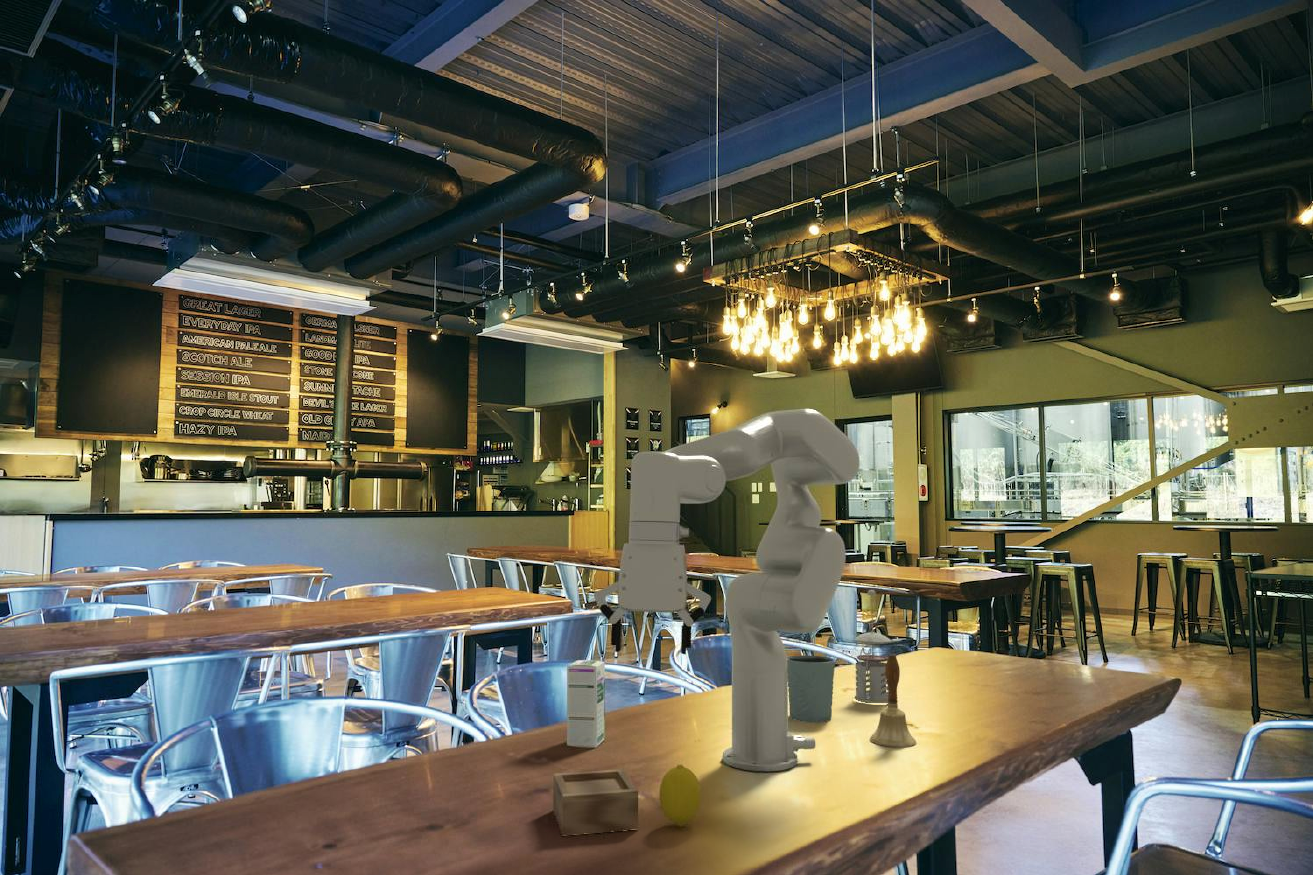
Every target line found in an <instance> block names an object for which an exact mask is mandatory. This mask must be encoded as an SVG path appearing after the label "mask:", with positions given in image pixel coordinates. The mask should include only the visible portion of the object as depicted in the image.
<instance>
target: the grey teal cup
mask: <svg viewBox="0 0 1313 875" xmlns="http://www.w3.org/2000/svg"><path fill="white" fill-rule="evenodd" d="M835 664H836V659H835V658H831V657H827V656H822V655H821V656H820V655H804V654H803V655H790V656H787V666H788V668H787V681H788V706H789V707H788V708H789V717H790V718H791V717H792V718H793V719H792V718H791V719H792V720H794V719H796V720H795V721H798V720H800V721H799V722H803V721H805V722H806V723H824V722H823V721H825V722H828V721H827V720H829V721H831V719H832V714H833V712H832V711H833V709H832V706H833V700H834V698H833V694H834V692H833V690H834V678H835V677H834V676H835V668H836V666H835ZM805 722H804V723H805Z"/></svg>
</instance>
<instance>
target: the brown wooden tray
mask: <svg viewBox="0 0 1313 875" xmlns="http://www.w3.org/2000/svg"><path fill="white" fill-rule="evenodd" d="M552 799H553V800H552V801H553V802H552V804H553V806H552V811H553V810H554V811H553V814H554V813H555V814H554V816H555V815H556V817H555V819H556V818H557V820H556V822H558V823H557V825H558V824H559V826H558V828H559V827H560V828H559V830H560V829H561V831H560V833H561V832H562V834H561V836H562V835H573V834H584V833H587V834H588V833H601V834H603V833H602V832H611V831H623V830H631V829H638V830H639V790H638V788H637V786H635V784H634V782H633V781H632V779H631V778H630V777H629V775H628V774H627V772H626V771H625V770H624V768H618V769H607V770H606V769H604V770H602V769H601V770H592V771H591V770H590V771H588V770H587V771H574V772H573V771H571V772H563V773H562V772H559V773H553V795H552Z"/></svg>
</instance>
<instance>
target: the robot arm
mask: <svg viewBox="0 0 1313 875" xmlns="http://www.w3.org/2000/svg"><path fill="white" fill-rule="evenodd" d="M630 465H631V466H630V468H631V470H630V492H629V494H630V500H629V524H628V525H629V526H628V543H626V542H625V543H624V545H623V548H622V552H621V556H620V557H621V558H620V564H619V565H620V567H619V573H618V575H619V576H618V580H617V581H616V582H614V583H611V584H609V585H607V586H606V587H603V588H601V589H599V590H597V591H595V592H594V593H593V597H594V599H595V602H596V604H597V606H598V608H599V610H600V612H601V613H602V614H603V615H604V616H605V618H606V619H607V620H608V621H609V623H610V624H611V627H610V628H611V629H610V630H611V634H610V645H611V646H615V647H614V652H615V653H619V652H621V650H622V644H623V643H622V642H623V641H622V640H623V623H622V617H623V616H624V615H625V614H626V613H627V612H638V613H639V612H641V613H667V614H668V613H676V614H677V615H678V616H679V618H680V619H681V620H682V622H683V623H682V625H681V642H680V644H681V645H680V654H682V655H687V649H691V648H692V627H693V625H694V624H695V623H696V622H697V621H698V620H699V619H700V618H701V617H702V616H703V615H704V614H705V612H706V610H707V608H708V606H709V604H710V602H711V600H712V597H711V595H710V594H708V593H707V592H705V591H702V590H701V589H699V588H697V587H695V586H693V585H692V584H690V583H688V576H687V575H688V571H687V570H688V569H687V556H686V549H685V545H684V544H680V539H682V538H687V537H688V538H689V536H690V527H685V526H682V525H680V522H681V521H680V520H681V516H680V515H681V504H705V503H709V502H713V501H714V500H716V499H717V498H718V497H720V495H722V493H723V491H724V489H725V486H726V483H727V481H733V480H738V479H741V478H746V477H749V476H751V475H753V474H754V473H756V472H758V471H760V470H761V469H763V468H765V467H768V466H769V465H771V466H770V467H771V473H772V477H773V481H774V485H775V490H776V497H777V506H776V508H775V511H774V513H773V516H772V517H771V519H770V522H769V523H768V526H767V528H766V530H765V532H764V534H763V536H762V538H761V540H760V542H759V544H758V547H757V550H756V553H755V564H756V566H757V568H758V570H759V572H749V573H743V574H740V575H738V576H736V577H734V578H733V580H731V582H730V583H729V585H728V586H727V588H726V593H725V609H726V614H727V619H728V624H729V625H728V626H729V632H730V643H731V646H730V647H731V747H728V748H726V749H725V750H724V751H723V752H722V761H723V762H724V763H725V764H726V765H727V766H729V767H733V768H736V769H739V770H744V771H751V772H765V773H766V772H777V771H785V770H789V769H791V768H793V767H795V766H796V765H797V764H798V755H797V752H798V751H799V750H803V749H804V750H814V749H815V748H816V739H815V738H814V736H810V737H809V736H806V737H802V735H793V734H792V733H790V732H789V720H788V718H789V716H788V715H789V712H788V711H789V710H788V708H789V707H788V706H789V691H788V689H789V687H788V678H787V676H788V674H787V668H788V666H787V657H788V655H787V650H786V647H785V645H784V642H783V641H782V638H781V636H780V635H779V633H778V632H783V633H790V634H791V633H792V634H802V635H803V634H812V633H814V632H815V631H816V630H818V628H820V626H821V625H822V623H823V621H824V620H825V618H826V615H827V613H828V610H829V609H830V606H831V604H832V601H833V598H834V595H835V593H836V591H837V589H838V586H839V583H840V581H841V579H842V576H843V572H844V569H845V567H846V566H845V565H846V558H847V556H846V547H845V546H846V545H845V542H844V540H843V538H842V536H841V535H840V534H839V533H838V532H837V531H835V530H834V529H832V528H829V527H826V526H820V525H821V521H822V512H821V509H820V507H819V506H820V505H818V502H817V501H816V499H815V498H814V496H813V495H812V493H811V491H810V489H809V487H808V486H821V485H822V486H826V485H828V486H829V485H843V484H848V483H850V482H851V481H853V480H854V479H855V478H856V477H857V474H858V472H859V469H860V456H859V453H858V450H857V447H856V446H855V444H854V443H853V441H852V440H851V439H850V438H849V437H848V436H847V435H846V434H845V433H844V432H843V431H842V430H840V428H839V427H837V425H836V424H835V423H833V422H832V421H831V420H830V419H829V418H828V417H826V416H825V415H823V414H822V413H821V412H818V411H817V410H814V409H810V408H800V409H799V408H798V409H788V410H776V411H770V412H769V411H768V412H766V413H765V412H764V413H762V414H760V415H758V416H755V417H753V418H750V419H749V420H747V421H746V422H745V421H744V422H743V423H740V424H739V425H737V426H734V427H732V428H730V429H728V430H725V431H722V432H719V433H714V434H711V435H709V436H706V437H703V438H698V439H696V440H693V441H690V442H686V443H683V444H680V445H676V446H675V447H672V448H670V449H667V450H664V451H656V450H655V451H650V450H649V451H642V452H638V453H635V455H633V457H632V460H631V464H630ZM615 592H617V603H618V608H617V609H616V610H615V611H614V610H613V609H612V607H610V605H608V601H607V599H606V597H607V596H609V595H611V594H613V593H615ZM688 595H691V596H693V597H694V598H696V599H697V600H699V603H698V605H697V607H696V608H695V609H694V610H693V611H692V612H691V613H689V611H688V610H687V609H686V605H687V601H688Z"/></svg>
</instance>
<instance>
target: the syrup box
mask: <svg viewBox="0 0 1313 875" xmlns="http://www.w3.org/2000/svg"><path fill="white" fill-rule="evenodd" d="M605 670H606V668H605V661H604V660H596V659H581V660H579V659H578V660H575V661H574V662H572V663H570V664H569V665H567V666H566V745H567V746H569V747H574V748H575V747H576V748H577V747H578V748H590V749H591V748H593V749H594V748H598V746H599V745H601V743H602V742H604V741H605V740H606V692H605V691H606V689H605V688H606V684H605V683H606V682H605V681H606V680H605V679H606V678H605V677H606V674H605Z"/></svg>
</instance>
